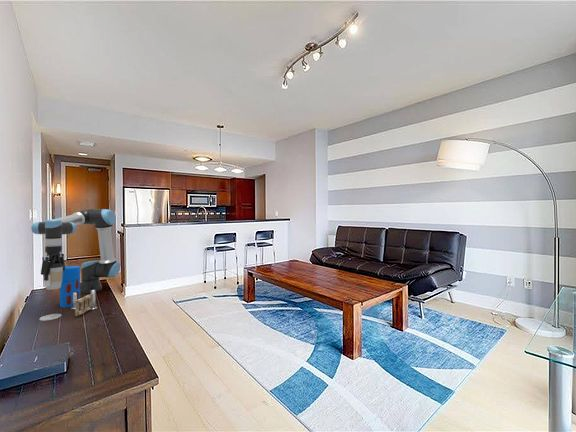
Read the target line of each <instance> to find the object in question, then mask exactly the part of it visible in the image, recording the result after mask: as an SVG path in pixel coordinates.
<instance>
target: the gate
mask: <svg viewBox="0 0 576 432" xmlns="http://www.w3.org/2000/svg"><path fill="white" fill-rule="evenodd" d="M79 302H80V304H79ZM92 308H93V294H91V293H90V294H89V293H88V294H87V295H84V296H83V297H80V299H78V300H76V301H75V309H74V315H75V317H79V316H80V315H83V314H84V313H86V312H88V311H89V310H90V309H92ZM90 311H91V310H90Z"/></svg>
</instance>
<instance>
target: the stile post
mask: <svg viewBox="0 0 576 432" xmlns="http://www.w3.org/2000/svg"><path fill="white" fill-rule="evenodd" d="M76 300H77V292H75V293H73V306H72V307H70V309H71V310H75V301H76Z"/></svg>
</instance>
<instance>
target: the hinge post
mask: <svg viewBox="0 0 576 432" xmlns="http://www.w3.org/2000/svg"><path fill="white" fill-rule="evenodd" d="M90 294H93V308H92V309H90V311H93V310H97V309H98V306H96V292H95V290H91V293H90Z"/></svg>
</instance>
